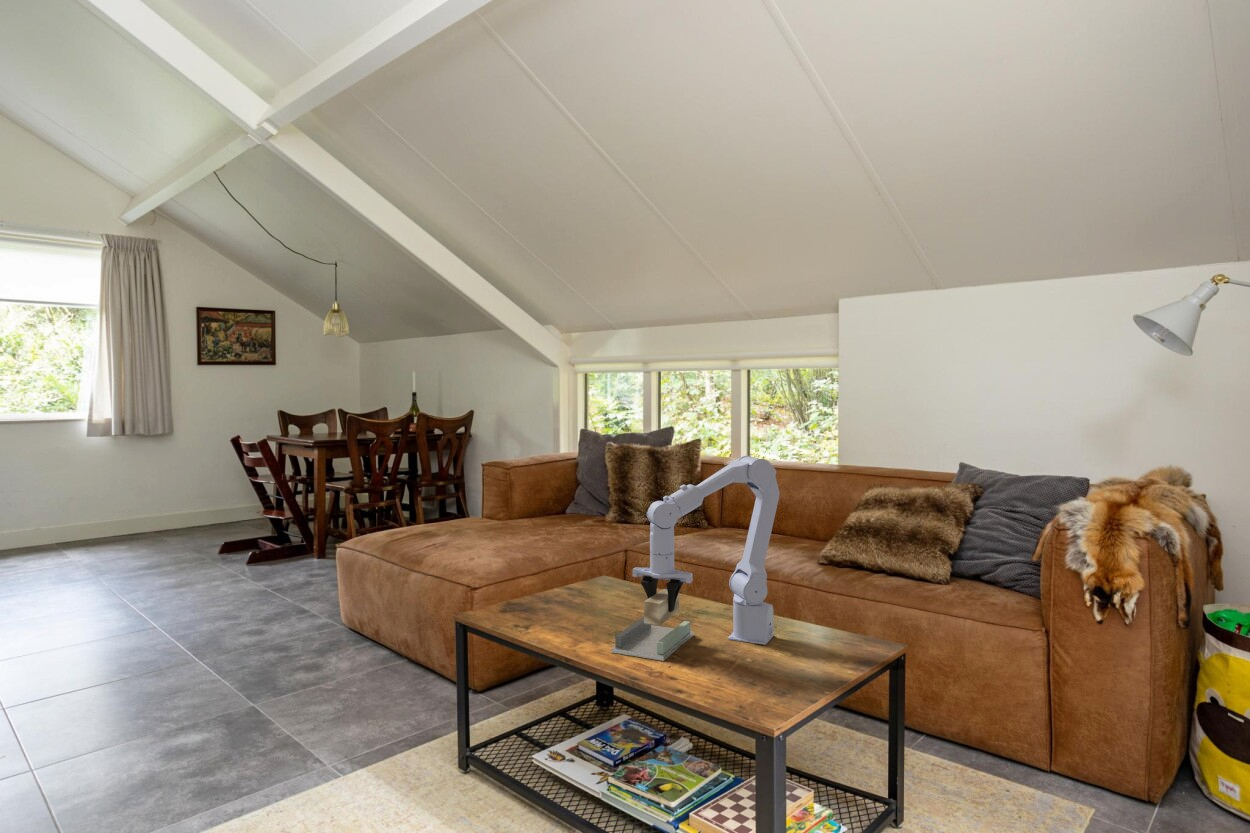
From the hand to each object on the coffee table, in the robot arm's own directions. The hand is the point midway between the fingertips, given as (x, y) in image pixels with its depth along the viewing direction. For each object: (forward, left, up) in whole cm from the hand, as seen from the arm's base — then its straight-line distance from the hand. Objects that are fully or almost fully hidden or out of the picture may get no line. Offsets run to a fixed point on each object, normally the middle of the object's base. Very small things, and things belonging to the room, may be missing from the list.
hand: (662, 609), depth 177 cm
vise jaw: (-3, 0, -7) cm, 8 cm away
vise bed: (+2, 0, -9) cm, 9 cm away
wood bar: (0, 0, -2) cm, 2 cm away
